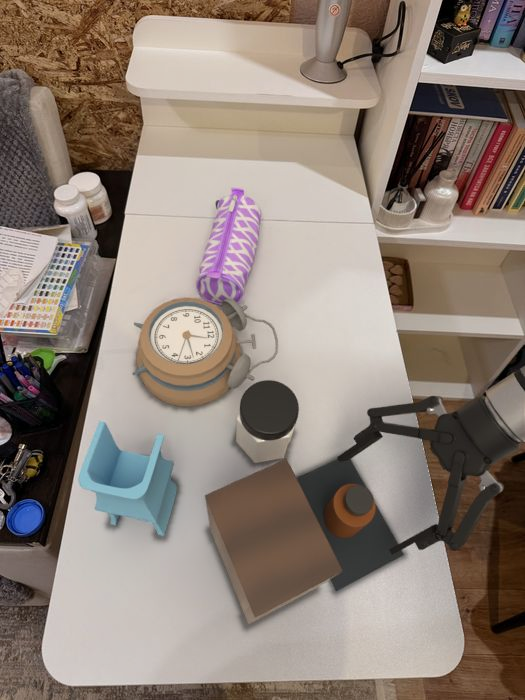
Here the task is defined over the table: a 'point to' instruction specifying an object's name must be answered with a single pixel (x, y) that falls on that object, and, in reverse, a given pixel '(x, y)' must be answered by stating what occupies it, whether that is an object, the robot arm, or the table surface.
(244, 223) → the pencil case
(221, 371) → the alarm clock
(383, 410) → the robot arm
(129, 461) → the blue doll chair
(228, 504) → the block
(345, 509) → the spice bottle
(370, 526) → the mat
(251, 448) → the jar
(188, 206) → the table surface
